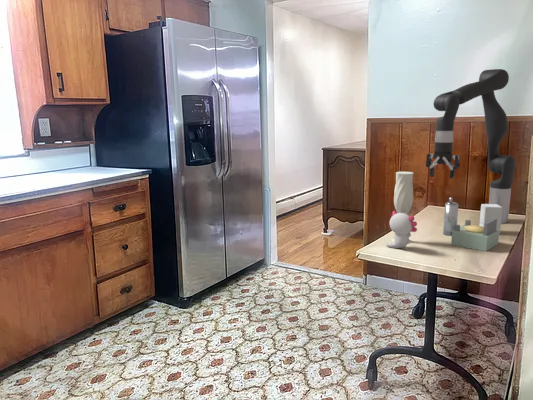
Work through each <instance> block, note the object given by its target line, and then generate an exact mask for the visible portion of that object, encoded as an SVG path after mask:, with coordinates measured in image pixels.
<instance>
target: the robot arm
mask: <svg viewBox="0 0 533 400" xmlns="http://www.w3.org/2000/svg"><path fill="white" fill-rule="evenodd" d="M509 77H510V76H509V72H508V71H507V70H505V69H503V68H494V69H485V70H482V71H481V73H480V74H479V77H478V81H475V82H472V83H471V82H469V83H467V84H465V85H462V86H460V87H458V88H456V89H454V90H451V91H447V92H443V93H441V94H439V95H437V96H436V97H435V98H434V100H433V108H434V109H435V110H436V111H439V112H444V114H443V116H440V117H438V118H436V127H435V128H436V129H435V136H434V153H431V152H430V153H426V160H425V167H427V168H429V176H430V178H433V177H435V167H436V166H437V165H446V166H447V167H448V168H449V179H451V180H452V179H454V178H455V175H456V170H458V169H460V168H461V166H460V165H461V156H460V154H456V155H453V153H454V152H453V151H454V150H453V149H454V125H455V119H456V117H457V113H458V111H459V108H460V106H461V105H464V104H465V103H467V102H469V101H472V100H473V99H476V98H478V97H480V96H481V100H482V106H483V112H484V122H485V131H486V139H487V140H486V141H487V167H488V170H489V172H491V173H493V174H500V175H501V176H500V177H499V179H494V180H491V181H490V186H489V187H490V188H489V199H488V204H498V205H499V206H501V207H502V218H501V224H506V223H508V222H509V215H510V204H511V196H512V195H511V192H512V185H513V183H514V182H513V181H514V175H515V170H516V160H515V159H516V158H515V157H514V156H512V155H506V154H505V155H504V154H500V144H501V143H502V140H503V139H504V137H506V136H505V135H506V134H507V132H508V115H507V114H506V112H505V110H504V109H503V107H502V106H501V104H500V103H499V102H498V101H497V98H496V95H495V91H500V90H502V89H504V88H506V86H507V85H508V84H509V80H510V78H509ZM432 159H434V161H433V162H432ZM452 160H453V161H454V163H453V161H452Z"/></svg>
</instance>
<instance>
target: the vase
mask: <svg viewBox="0 0 533 400" xmlns="http://www.w3.org/2000/svg"><path fill="white" fill-rule="evenodd" d="M413 178H414V172H413V171H396V172H395V185H394V194H393V204H394V205H393V206H394V208H395V210H396V211H395V212H396V213H405V214H407V215H409V212H410V211H411V209H412V205H413V201H414V185H413V181H414V180H413ZM409 240H410V241H411V243H412V240H411V239H410V238H409ZM390 241H392V243H393V242H394V237H393V238H391V240H390Z"/></svg>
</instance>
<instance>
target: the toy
mask: <svg viewBox="0 0 533 400" xmlns="http://www.w3.org/2000/svg"><path fill="white" fill-rule="evenodd" d="M414 220H415V216H414V215H409V214H408V215H407V214H405V213H397V211H395V210H392V213H391V217H390V219H389V226H390V227H389V228H390V229H391V231H392V232H393V233H394V234H393V235H394V236H393V238H394V242H393V241H392V242H385V243H384V244H385V246H386V247H388V248H390V249H391V248H392V249H401V248H402V249H403V248H405V247H407V246H408V244H411V243H412V242H411V241H412V240H411V239H410V237H412V235H411V233H416V232H417V231H418V228H417V227H416V226H417V225H418V222H417V221H414ZM409 239H410V240H411V241H410V240H409Z"/></svg>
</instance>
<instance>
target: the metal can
mask: <svg viewBox="0 0 533 400" xmlns="http://www.w3.org/2000/svg"><path fill="white" fill-rule="evenodd" d="M458 216H459V203H458V202H455V201H453V197H451V196H450V197H448V201H446V202H445V203H444V215H443V231H442V232H443V235H445V236H450V237H452V231H453V230H455V225H456V224H457V225H458V218H459V217H458Z"/></svg>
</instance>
